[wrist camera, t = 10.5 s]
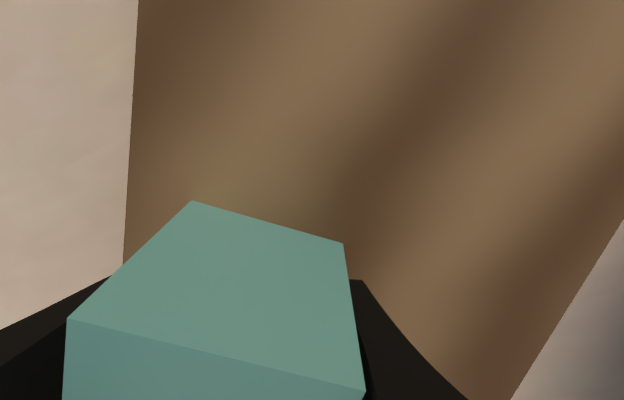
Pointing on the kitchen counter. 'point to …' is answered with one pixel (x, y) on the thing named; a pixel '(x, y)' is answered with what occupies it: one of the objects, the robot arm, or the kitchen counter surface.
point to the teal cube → (219, 317)
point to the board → (399, 151)
